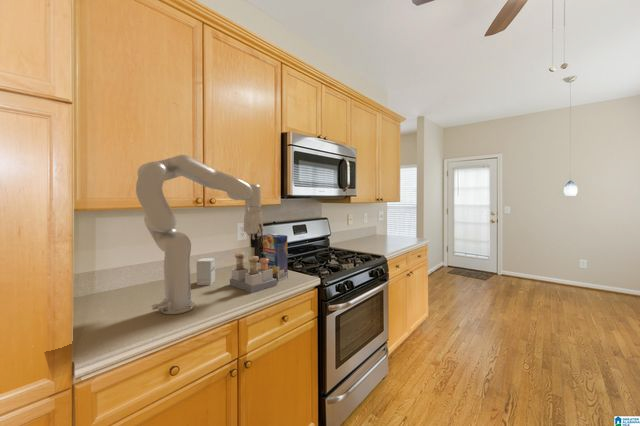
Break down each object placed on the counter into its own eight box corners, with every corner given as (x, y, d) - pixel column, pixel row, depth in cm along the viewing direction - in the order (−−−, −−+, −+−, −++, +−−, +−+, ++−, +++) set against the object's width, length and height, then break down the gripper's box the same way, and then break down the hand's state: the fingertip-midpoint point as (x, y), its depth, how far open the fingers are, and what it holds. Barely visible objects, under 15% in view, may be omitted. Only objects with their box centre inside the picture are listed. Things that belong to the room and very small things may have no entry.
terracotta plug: (263, 277, 146) (263, 260, 145) (257, 275, 149) (257, 258, 148) (271, 275, 149) (270, 258, 149) (265, 273, 153) (265, 257, 152)
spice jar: (252, 276, 138) (252, 258, 138) (246, 274, 141) (246, 257, 141) (260, 274, 142) (260, 257, 141) (254, 272, 145) (254, 255, 144)
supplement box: (211, 285, 148) (210, 261, 148) (196, 285, 148) (195, 261, 147) (215, 280, 156) (215, 257, 155) (201, 281, 155) (201, 258, 155)
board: (251, 292, 137) (251, 276, 136) (229, 284, 149) (229, 269, 149) (277, 285, 149) (277, 269, 148) (255, 277, 161) (255, 263, 161)
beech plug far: (238, 271, 146) (238, 255, 146) (233, 270, 149) (233, 253, 149) (246, 269, 150) (246, 253, 149) (241, 268, 153) (241, 252, 152)
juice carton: (287, 278, 161) (287, 235, 160) (277, 281, 156) (277, 237, 154) (273, 274, 169) (273, 233, 167) (263, 277, 163) (262, 235, 161)
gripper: (237, 209, 142) (239, 246, 143) (256, 211, 132) (257, 250, 133) (250, 208, 147) (251, 244, 149) (269, 210, 137) (270, 247, 139)
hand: (254, 247), depth 141 cm, fingers closed
